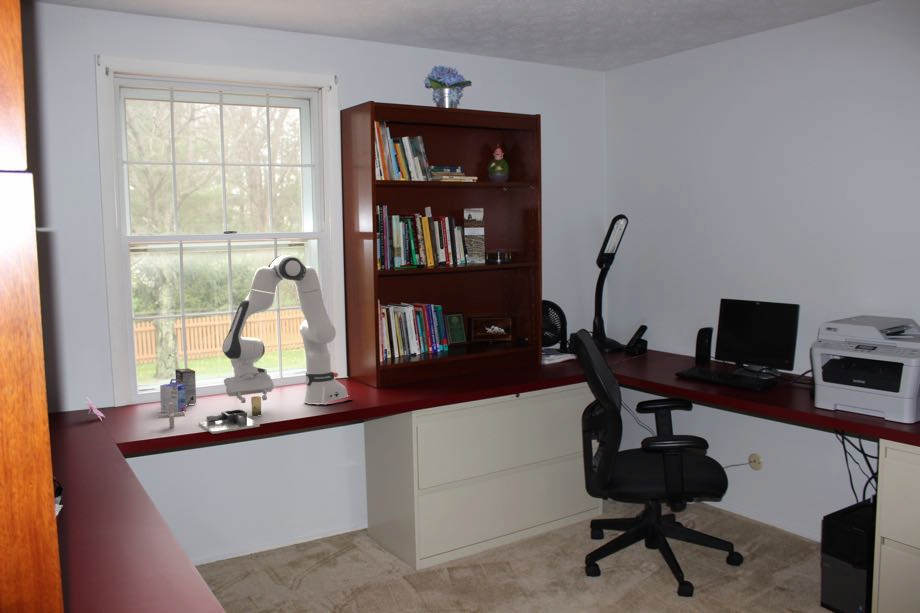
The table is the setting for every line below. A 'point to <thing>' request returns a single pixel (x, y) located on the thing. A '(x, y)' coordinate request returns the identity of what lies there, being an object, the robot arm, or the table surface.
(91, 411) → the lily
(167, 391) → the ink cartridge box
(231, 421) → the base
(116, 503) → the table surface
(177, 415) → the pipe connector
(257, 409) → the tan upright block
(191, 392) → the coffee box
